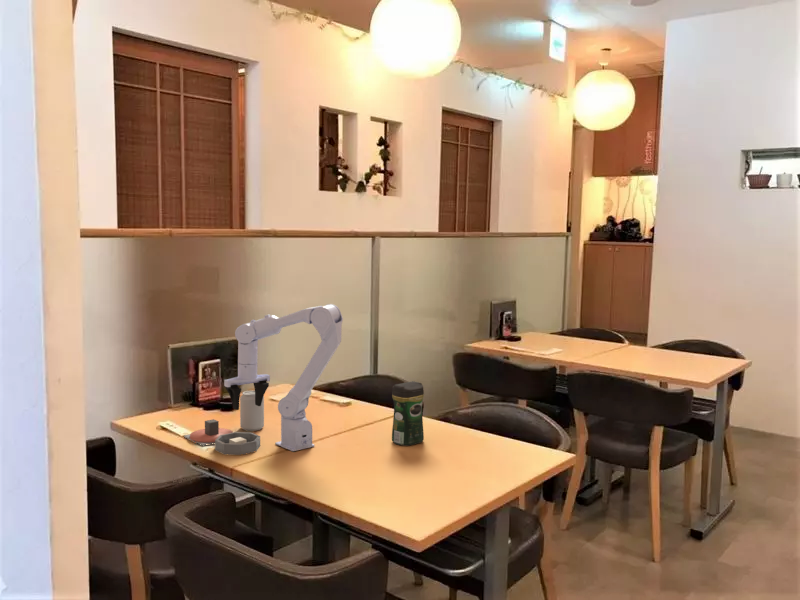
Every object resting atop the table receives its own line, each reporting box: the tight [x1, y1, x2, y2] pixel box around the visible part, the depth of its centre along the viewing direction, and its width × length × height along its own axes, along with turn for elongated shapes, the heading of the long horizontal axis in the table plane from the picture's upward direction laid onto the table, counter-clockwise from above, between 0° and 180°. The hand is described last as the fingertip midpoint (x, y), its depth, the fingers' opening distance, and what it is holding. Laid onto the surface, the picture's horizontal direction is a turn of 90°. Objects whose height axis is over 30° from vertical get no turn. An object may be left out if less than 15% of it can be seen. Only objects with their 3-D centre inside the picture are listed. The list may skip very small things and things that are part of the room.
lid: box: [190, 418, 234, 443], centre depth 213 cm, size 13×13×5 cm
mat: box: [183, 433, 215, 446], centre depth 213 cm, size 12×12×1 cm
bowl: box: [214, 431, 261, 456], centre depth 204 cm, size 12×12×3 cm
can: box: [239, 389, 265, 432], centre depth 224 cm, size 8×8×12 cm
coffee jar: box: [391, 380, 425, 447], centre depth 212 cm, size 10×8×19 cm
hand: (247, 407), depth 210 cm, fingers open, 7 cm apart
